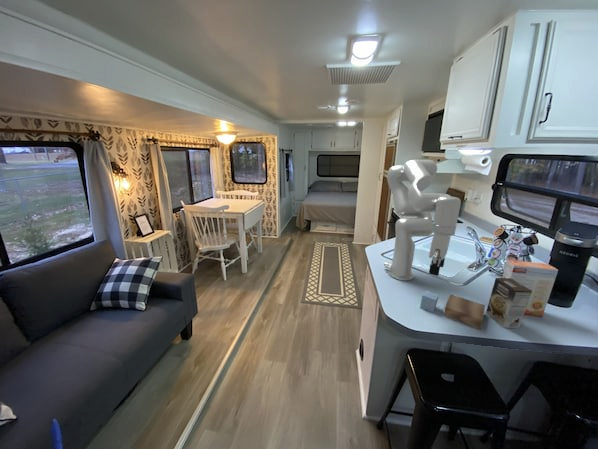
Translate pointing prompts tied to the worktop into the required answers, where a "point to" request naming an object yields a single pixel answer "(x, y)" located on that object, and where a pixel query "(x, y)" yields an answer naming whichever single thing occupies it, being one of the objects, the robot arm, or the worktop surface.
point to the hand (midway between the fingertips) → (436, 270)
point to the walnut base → (465, 311)
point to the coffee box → (508, 302)
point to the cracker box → (533, 282)
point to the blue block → (429, 301)
